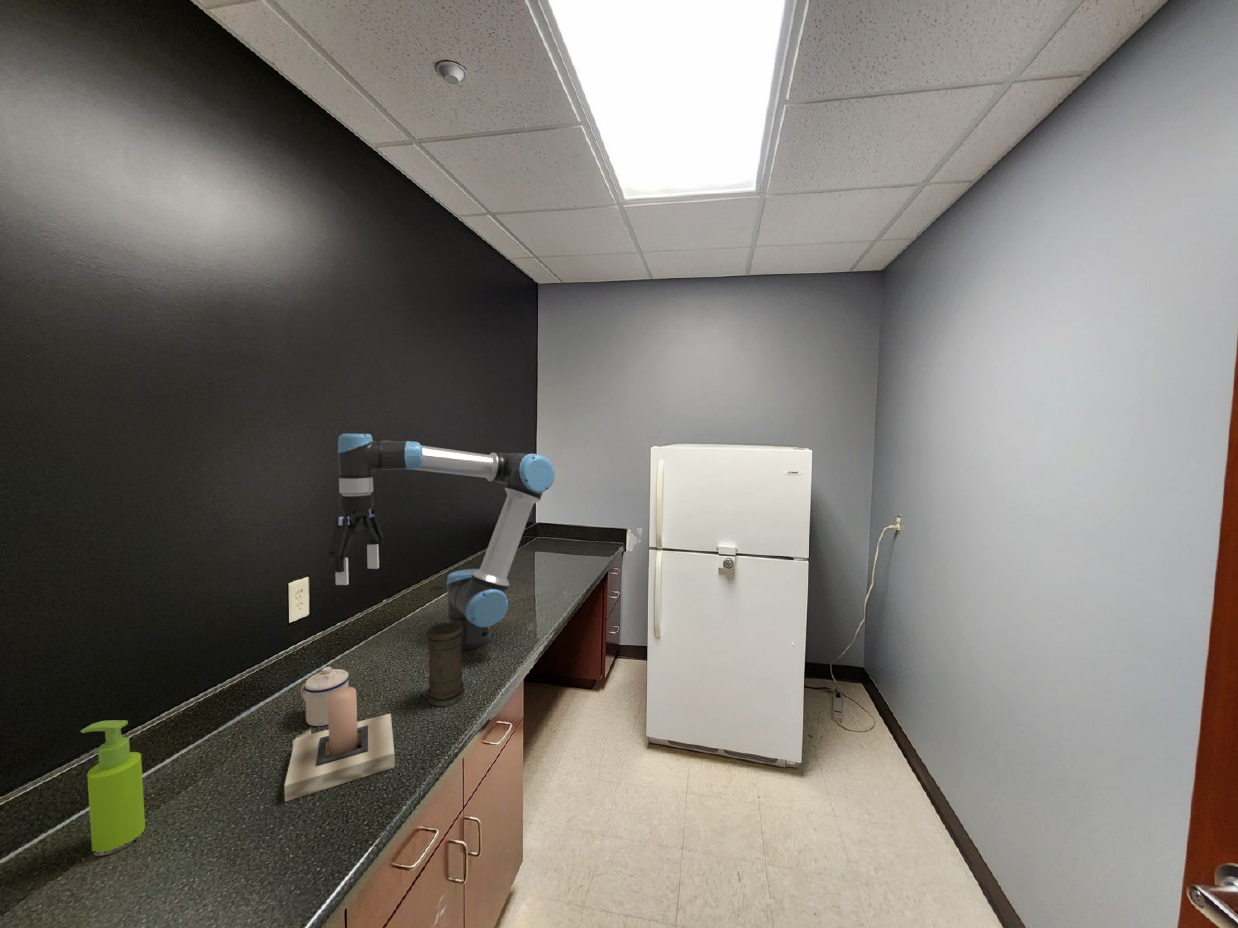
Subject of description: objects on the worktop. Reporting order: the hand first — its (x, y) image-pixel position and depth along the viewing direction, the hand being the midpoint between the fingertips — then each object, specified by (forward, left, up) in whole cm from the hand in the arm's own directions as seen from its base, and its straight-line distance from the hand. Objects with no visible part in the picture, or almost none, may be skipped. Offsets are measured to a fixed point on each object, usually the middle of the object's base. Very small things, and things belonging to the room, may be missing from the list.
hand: (358, 575), depth 117 cm
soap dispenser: (+35, +31, -31) cm, 56 cm away
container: (-19, +13, -31) cm, 39 cm away
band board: (+3, +27, -31) cm, 41 cm away
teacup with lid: (+8, +7, -31) cm, 33 cm away
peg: (+3, +27, -31) cm, 41 cm away
